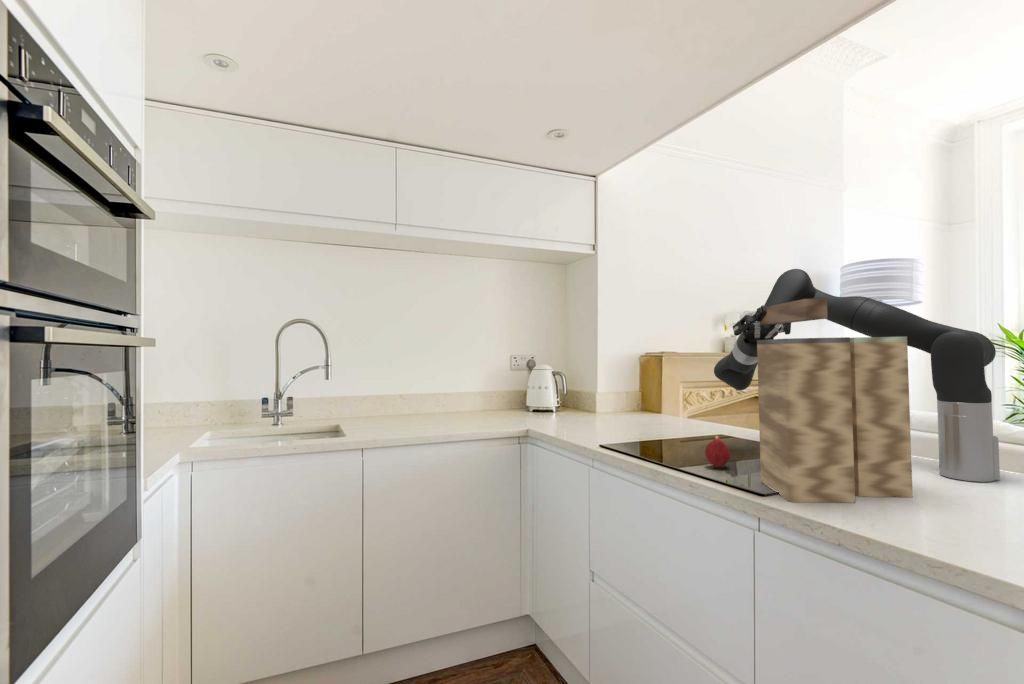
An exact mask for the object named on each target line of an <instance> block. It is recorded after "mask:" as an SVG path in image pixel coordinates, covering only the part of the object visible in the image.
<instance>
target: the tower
mask: <svg viewBox="0 0 1024 684" xmlns="http://www.w3.org/2000/svg"><path fill="white" fill-rule="evenodd" d="M908 353H909V352H908V346H907V336H906V337H869V336H866V337H863V336H862V337H858V336H856V337H850V359H851V389H852V420H853V450H854V481H855V496H857V497H860V498H861V497H863V498H865V497H867V498H875V497H876V498H877V497H878V498H913V494H914V493H913V472H912V471H913V467H912V444H911V443H912V441H911V435H912V434H911V415H910V414H911V412H910V409H911V408H910V407H911V406H910V384H909V383H910V382H909V359H908V358H909V356H908V355H909V354H908ZM894 496H895V497H894Z"/></svg>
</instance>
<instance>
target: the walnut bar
mask: <svg viewBox="0 0 1024 684" xmlns="http://www.w3.org/2000/svg"><path fill="white" fill-rule="evenodd" d="M758 308H759V307H758ZM758 308H756V310H757V309H758ZM766 310H767V313H766V315H765V316H764V318H763V320H762V321H760V325H773V324H783V323H791V324H792V323H800V322H808V321H818V320H827V319H828V317H827V298H815V299H802V300H797V301H792V302H787V303H782V304H777V305H772V306H767V307H766Z"/></svg>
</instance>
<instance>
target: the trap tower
mask: <svg viewBox="0 0 1024 684" xmlns="http://www.w3.org/2000/svg"><path fill="white" fill-rule="evenodd" d="M850 338H851V337H847V336H846V337H809V338H808V337H801V338H800V337H799V338H776V339H775V338H774V339H770V340H757V360H758V364H757V388H758V391H757V393H758V419H759V420H758V421H759V422H758V423H759V424H758V427H759V429H758V430H759V454H760V456H759V459H760V462H759V463H760V483H761V482H762V483H764V484H766V485H767V486H769V487H771V488H773V489H774V490H776V491H778V492H779V494H780V495H781V496H780V495H779V494H778V495H779V496H780V497H782V498H784V499H785V500H787V501H788V502H790V503H854V504H856V495H855V481H854V450H853V420H852V389H851V359H850ZM762 483H761V484H762ZM764 484H763V485H764ZM767 486H766V487H767Z"/></svg>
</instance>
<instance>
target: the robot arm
mask: <svg viewBox="0 0 1024 684" xmlns="http://www.w3.org/2000/svg"><path fill="white" fill-rule="evenodd" d="M815 298H827V317H828V319H826V321H829V322H832V323H834V324H836V325H839V326H842V327H845V328H847V329H850V330H851V331H854V332H856V333H860V334H861V335H864V336H866V337H906V336H907V347H911V348H914V349H918V350H920V351H923V352H924V353H927V354H929V355H930V365H931V366H930V367H931V378H932V379H931V381H932V386H933V388H934V390H935V394H936V405H937V406H936V410H937V433H938V437H937V439H938V462H939V464H938V466H939V475H940V476H943V477H946V478H950V479H953V480H954V479H955V480H960V481H967V482H978V483H979V482H981V483H987V482H994V481H1000V480H1001V475H1000V473H1001V471H1000V468H1001V467H1000V447H999V437H998V436H997V435H994V424H993V420H994V419H993V418H994V417H993V402H992V401H993V399H992V390H991V389H990V388H989V386H988V384H987V382H986V381H987V380H986V372H985V371H986V370H985V369H986V368H985V367H986V366H988V365H990V364H991V363H992V362H993V361H994V359H995V357H996V356H997V355H996V354H997V353H996V352H997V350H996V347H995V345H994V343H993V342H992V340H991V339H989V338H988V336H986V335H984V334H983V333H979V332H976V331H975V330H974V331H973V330H967V329H963V328H959V327H954V326H950V325H947V324H942V323H938V322H935V321H932V320H928V319H926V318H924V317H922V316H919V315H917V314H914V313H912V312H910V311H907V310H904V309H902V308H900V307H896V306H894V305H891V304H888V303H885V302H883V301H881V300H876V299H873V298H871V297H867V296H861V295H860V296H859V295H855V296H854V295H852V296H837V295H832V294H829V293H827V292H825V291H822V290H820V289H817V288H816V287H815V285H814V283H813V282H812V278H811V277H810V275H809V274H808V273H807V272H806V271H805V270H803V269H800V268H792V269H789V270H786V271H784V272H783V273H781V275H779V277H778V278H777V279H776V281H775V283H774V284H773V287H772V290H771V291H770V293H769V296H768V297H767V299H766V301H765V303H764V304H763V305H761V306H760V307H758V309H757V308H756V311H755V313H753V314H752V315H749V314H746V315H744V316H743V317H742V318H741V319H739V320H738V321H737V322H736V323H735V324H733V326H732V331H733V334H734V336H736V337H737V336H738V337H737V339H736V340H735V343H734V344H733V347H732V349H731V351H730V353H729V354H728V355H726V356H723V357H722V358H721V359H720V360H719V361H718V362H716V363H715V366H714V368H713V374H714V376H715V378H717V379H718V380H720V381H722V382H723V383H724V384H726V385H727V386H729V387H731V388H733V389H734V390H736V391H740V392H741V391H744V390H746V389H747V388H749V387H750V385H751V384H752V381H753V379H754V376H755V375H754V374H755V372H756V370H757V367H758V360H757V340H770V339H775V337H777V336H778V334H781V333H784V335H790V334H791V330H792V323H783V324H773V325H760V321H762V320H763V318H764V316H765V315H766V313H767V310H766V307H767V306H772V305H777V304H782V303H787V302H792V301H797V300H802V299H815Z"/></svg>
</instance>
